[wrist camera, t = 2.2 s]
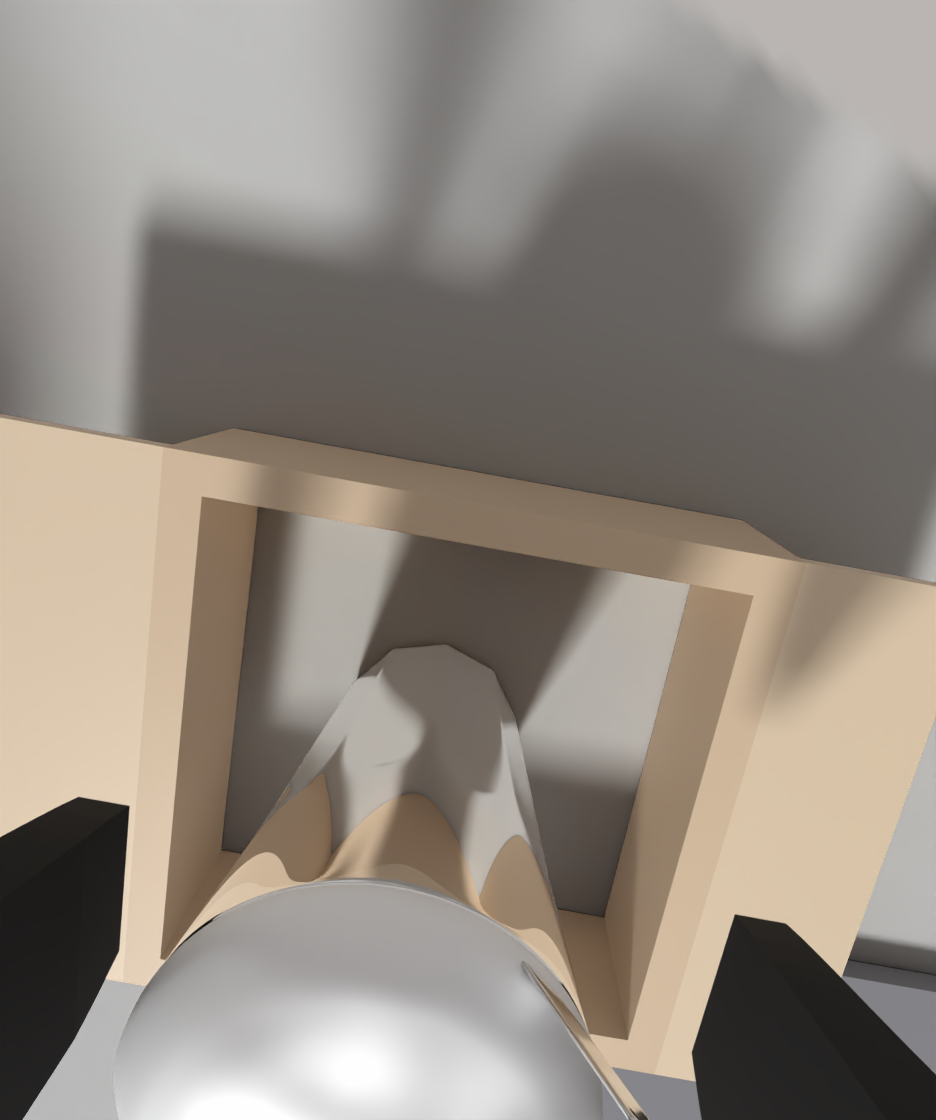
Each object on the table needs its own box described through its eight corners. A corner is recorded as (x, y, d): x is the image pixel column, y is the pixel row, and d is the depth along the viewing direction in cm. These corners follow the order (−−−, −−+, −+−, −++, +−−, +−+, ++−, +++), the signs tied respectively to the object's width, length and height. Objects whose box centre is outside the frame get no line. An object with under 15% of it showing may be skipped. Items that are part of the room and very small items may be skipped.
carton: (743, 966, 16) (797, 1099, 13) (70, 848, 16) (-24, 956, 13) (879, 544, 14) (979, 594, 11) (93, 402, 14) (-14, 415, 11)
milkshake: (629, 706, 15) (870, 1346, 5) (423, 864, 16) (311, 1644, 6) (470, 531, 14) (414, 906, 5) (265, 709, 15) (-138, 1323, 6)
